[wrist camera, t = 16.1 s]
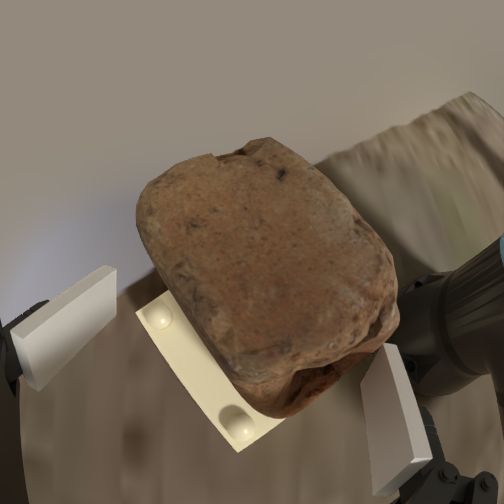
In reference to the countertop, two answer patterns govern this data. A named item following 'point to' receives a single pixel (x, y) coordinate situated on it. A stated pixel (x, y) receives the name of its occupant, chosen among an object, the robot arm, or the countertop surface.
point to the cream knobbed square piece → (202, 373)
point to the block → (270, 271)
